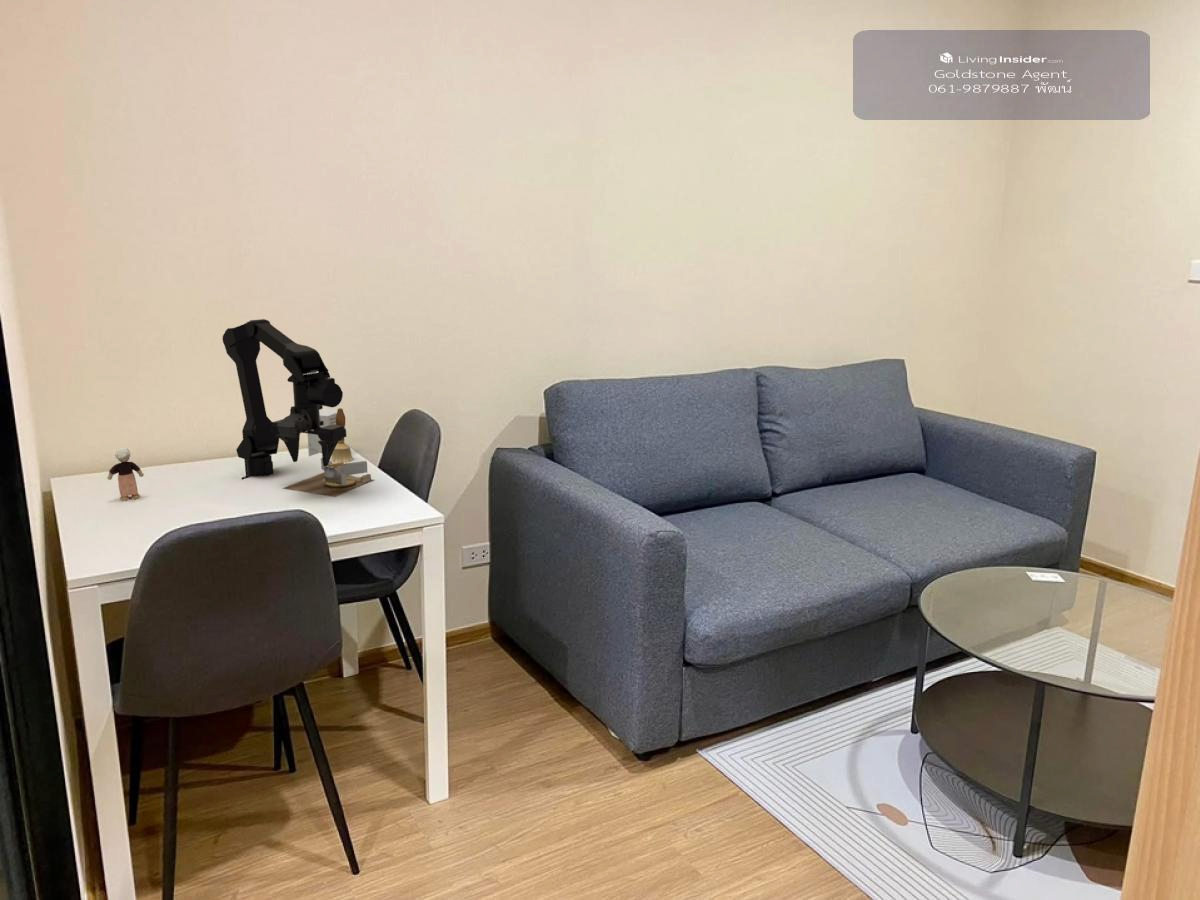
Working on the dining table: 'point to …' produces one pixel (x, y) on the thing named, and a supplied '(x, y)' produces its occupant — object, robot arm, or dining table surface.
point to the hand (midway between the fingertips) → (310, 463)
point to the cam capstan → (342, 473)
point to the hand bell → (341, 443)
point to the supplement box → (328, 419)
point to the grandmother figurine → (125, 474)
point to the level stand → (318, 487)
